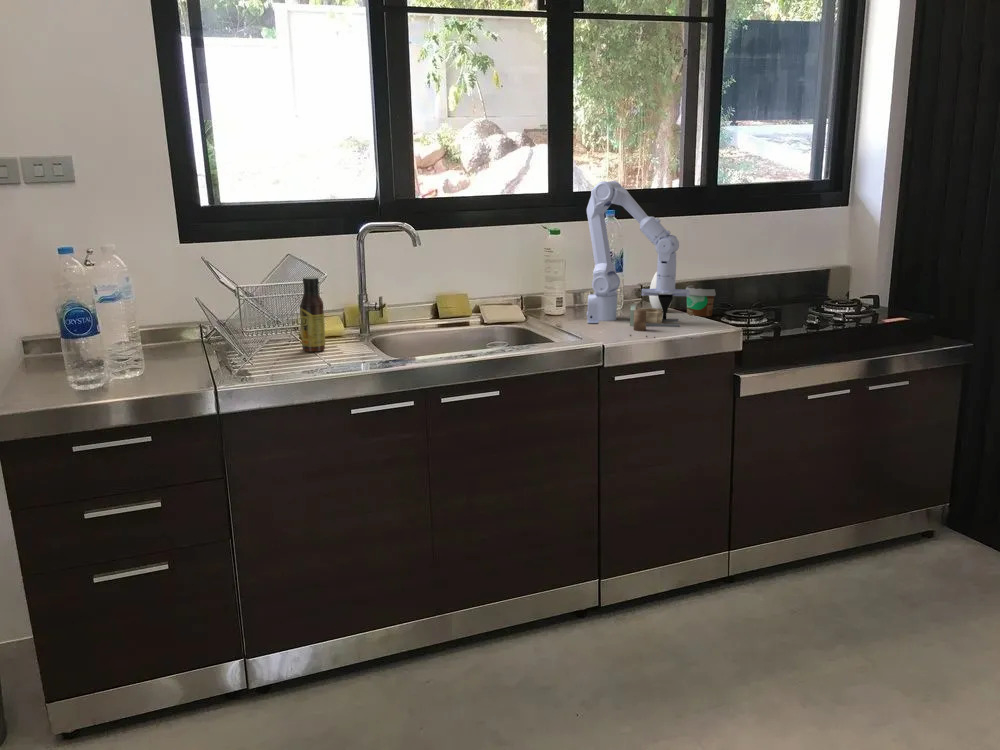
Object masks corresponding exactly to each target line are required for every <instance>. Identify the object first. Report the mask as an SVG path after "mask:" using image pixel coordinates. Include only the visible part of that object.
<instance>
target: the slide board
mask: <svg viewBox="0 0 1000 750" xmlns="http://www.w3.org/2000/svg"><path fill="white" fill-rule="evenodd" d="M636 306H637V305H636V304H635V303H631V304H630V311H629V327H634V310H636ZM662 322H674V323H662V324H657V323H646V327H664V328H665V327H666V328H667V327H668V328H680V323H679V318H666V320H663V317H662ZM675 322H678V323H675Z"/></svg>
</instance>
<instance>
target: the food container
mask: <svg viewBox="0 0 1000 750" xmlns="http://www.w3.org/2000/svg"><path fill="white" fill-rule="evenodd" d="M685 290H690V297H686V314H687V315H689V316H693V315H694V316H696V317H712V316H713V310H714V309H713V308H714V300H715V296H716V295H717V293H716V289H715V288H714V289H712V288H711V289H709V288H708V289H705V288H696V287H694V285H693V284H692V285H691V284H690V285H687V286H686V288H685Z"/></svg>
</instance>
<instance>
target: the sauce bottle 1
mask: <svg viewBox="0 0 1000 750" xmlns="http://www.w3.org/2000/svg"><path fill="white" fill-rule="evenodd" d="M319 280H320V279H319V277H317V276H304V277H302V283H303V284H302V285H303V295H302V299H301V303H300V304H299V305H300V306H299V315H300V332H301V333H300V334H301V335H300V336H301V346H302V350H303V351H304V352H306V353H315V352H323V351H325V349H326V348H325V347H326V333H325V332H326V330H325V327H326V326H325V325H326V324H325V312H324V302H323V300H322V297H320V295H319V283H320V282H319Z"/></svg>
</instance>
